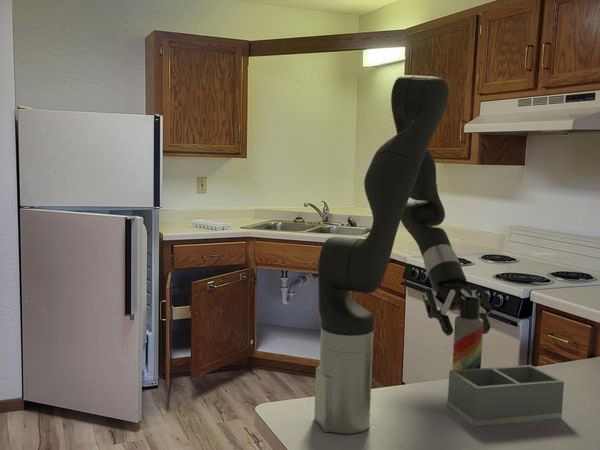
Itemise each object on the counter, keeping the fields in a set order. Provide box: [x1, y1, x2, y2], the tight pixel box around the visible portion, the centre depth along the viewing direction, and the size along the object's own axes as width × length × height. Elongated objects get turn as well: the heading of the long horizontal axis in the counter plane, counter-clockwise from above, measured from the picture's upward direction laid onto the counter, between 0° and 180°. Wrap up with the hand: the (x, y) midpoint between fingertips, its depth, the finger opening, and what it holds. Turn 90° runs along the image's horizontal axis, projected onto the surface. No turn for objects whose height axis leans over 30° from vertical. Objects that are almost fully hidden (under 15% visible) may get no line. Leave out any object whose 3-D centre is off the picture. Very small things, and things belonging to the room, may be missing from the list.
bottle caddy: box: [447, 364, 565, 427], centre depth 112 cm, size 18×10×7 cm, turn 105°
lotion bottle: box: [451, 296, 484, 370], centre depth 123 cm, size 6×6×20 cm
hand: (468, 332), depth 122 cm, fingers open, 8 cm apart
